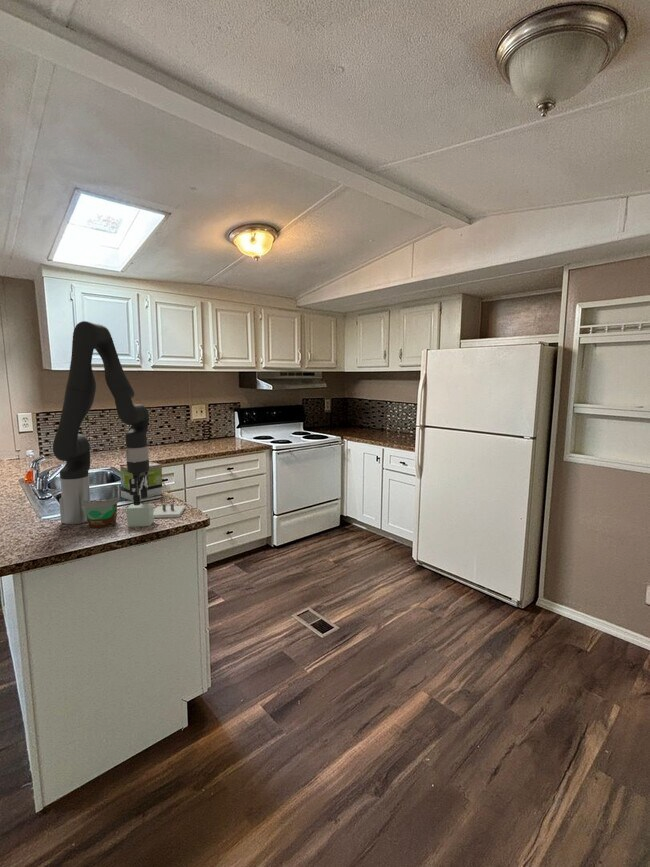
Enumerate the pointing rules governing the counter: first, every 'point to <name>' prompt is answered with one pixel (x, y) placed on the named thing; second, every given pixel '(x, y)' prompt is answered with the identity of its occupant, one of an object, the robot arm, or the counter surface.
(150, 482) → the tea box
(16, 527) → the counter surface
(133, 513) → the block
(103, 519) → the food container
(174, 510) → the stub plate
